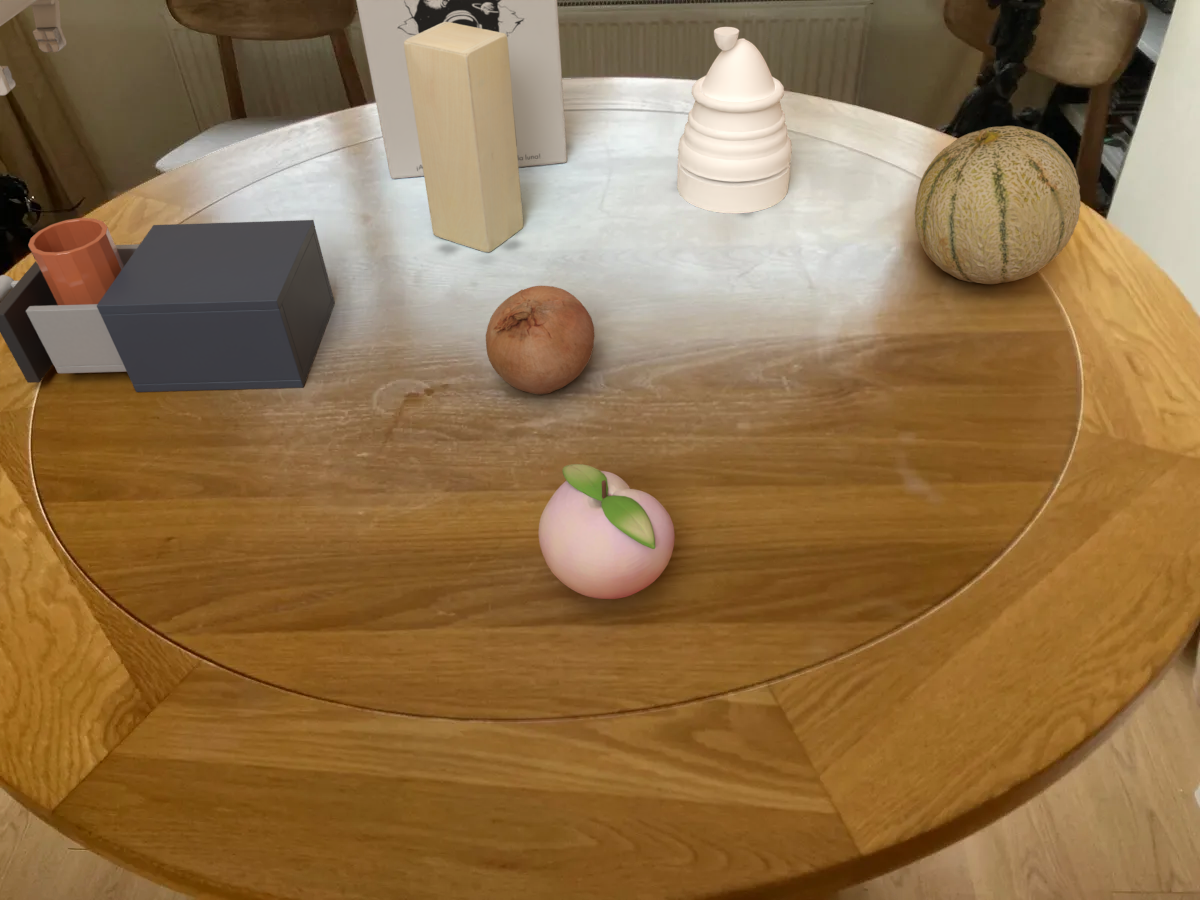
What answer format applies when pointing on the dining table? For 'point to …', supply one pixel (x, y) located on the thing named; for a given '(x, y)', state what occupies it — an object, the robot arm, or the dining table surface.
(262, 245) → the cabinet
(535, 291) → the onion
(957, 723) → the dining table surface
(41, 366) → the drawer
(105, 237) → the cup
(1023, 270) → the cantaloupe
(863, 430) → the dining table surface
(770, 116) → the honey pot
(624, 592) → the decorative fruit
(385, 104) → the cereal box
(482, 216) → the tall wooden block
